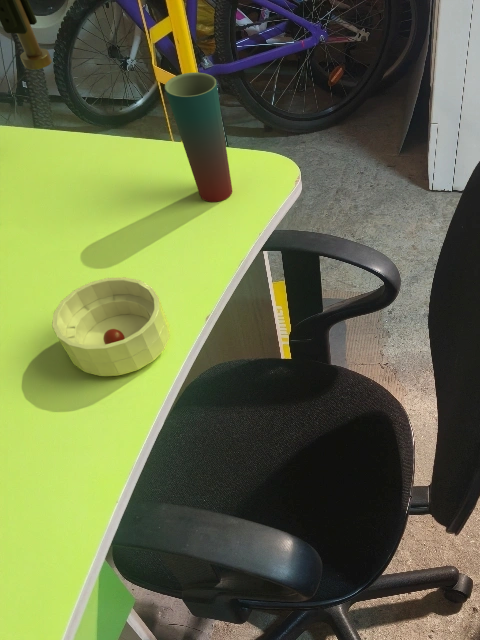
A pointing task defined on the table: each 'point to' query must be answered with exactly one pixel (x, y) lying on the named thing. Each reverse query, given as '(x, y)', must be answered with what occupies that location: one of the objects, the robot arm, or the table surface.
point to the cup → (201, 132)
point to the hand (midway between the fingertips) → (21, 26)
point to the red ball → (113, 336)
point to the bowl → (112, 326)
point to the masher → (32, 46)
